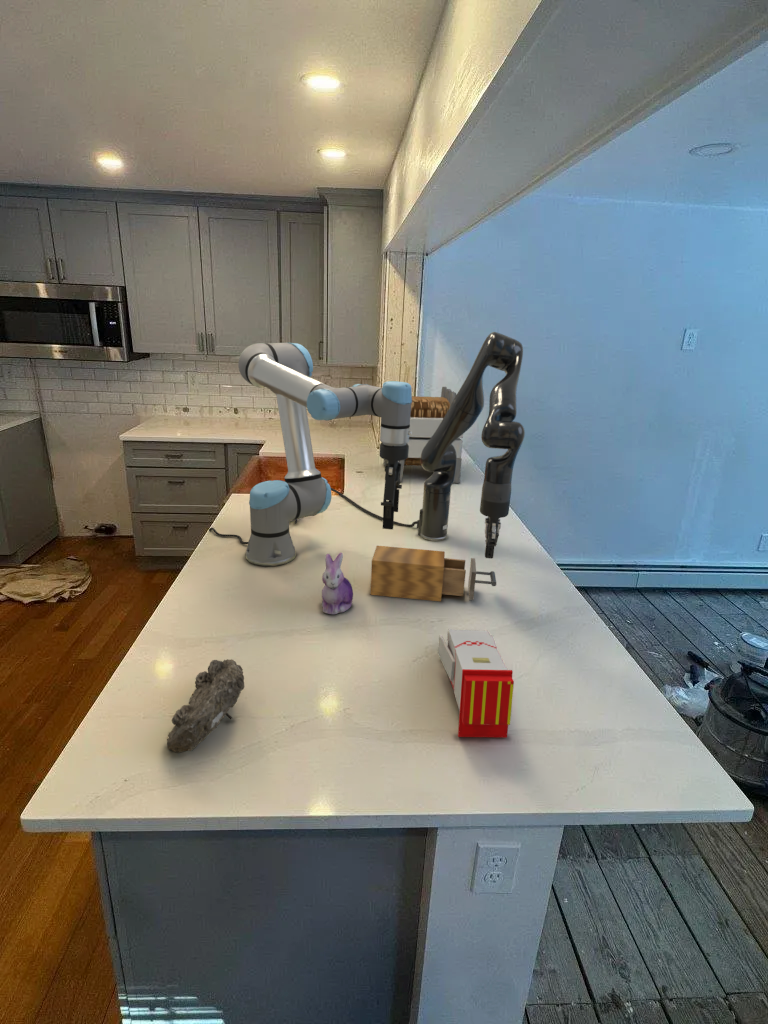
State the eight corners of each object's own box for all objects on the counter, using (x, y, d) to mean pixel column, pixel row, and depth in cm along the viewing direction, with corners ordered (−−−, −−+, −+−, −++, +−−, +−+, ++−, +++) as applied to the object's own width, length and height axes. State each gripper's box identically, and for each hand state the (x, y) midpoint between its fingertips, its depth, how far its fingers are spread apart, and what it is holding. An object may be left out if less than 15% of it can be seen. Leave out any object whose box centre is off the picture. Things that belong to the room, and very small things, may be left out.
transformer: (382, 463, 289) (386, 382, 275) (445, 464, 293) (451, 384, 279) (390, 482, 257) (394, 392, 243) (460, 483, 261) (468, 394, 247)
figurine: (327, 619, 143) (328, 565, 138) (313, 601, 152) (313, 549, 147) (361, 611, 147) (363, 559, 142) (345, 594, 156) (346, 544, 151)
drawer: (492, 587, 162) (496, 560, 159) (494, 602, 154) (498, 574, 151) (409, 579, 164) (411, 552, 162) (406, 593, 156) (408, 566, 153)
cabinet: (441, 584, 164) (444, 551, 161) (441, 601, 155) (444, 566, 151) (375, 578, 166) (376, 545, 163) (370, 594, 157) (371, 560, 153)
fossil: (192, 660, 117) (244, 628, 112) (224, 691, 120) (276, 661, 115) (142, 746, 98) (202, 712, 93) (182, 779, 101) (242, 748, 96)
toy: (488, 613, 130) (523, 677, 101) (484, 667, 133) (517, 744, 104) (435, 612, 130) (455, 676, 101) (432, 666, 133) (451, 743, 103)
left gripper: (404, 455, 135) (400, 537, 142) (412, 434, 158) (408, 505, 165) (373, 453, 136) (370, 535, 143) (385, 432, 159) (382, 503, 166)
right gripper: (512, 506, 142) (504, 568, 148) (508, 490, 154) (500, 548, 160) (482, 503, 143) (475, 566, 148) (480, 488, 155) (474, 546, 161)
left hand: (390, 519), depth 154 cm, fingers open, 13 cm apart
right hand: (488, 557), depth 154 cm, fingers closed
